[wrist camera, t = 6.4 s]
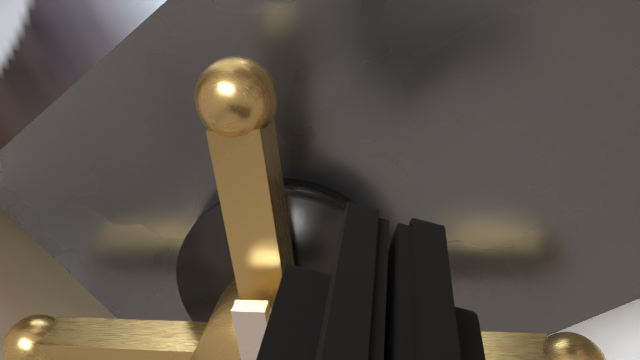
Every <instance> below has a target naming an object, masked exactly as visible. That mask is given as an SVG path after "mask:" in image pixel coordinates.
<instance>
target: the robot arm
mask: <svg viewBox="0 0 640 360" xmlns="http://www.w3.org/2000/svg"><path fill="white" fill-rule="evenodd" d="M388 243H389V220H386V219H382V218H379V209H376V208H372V207H369V206H365V205H361V204H357V203H353V202H349V201H348V203H347V206H346V210H345V213H344V217H343V220H342V224H341V227H340V231H339V235H338V238H337V242H336V246H335V249H334V253H333V256H332V260H331V264H330V267H329V271H328V274H327V273H323V272H319V271H315V270H311V269H307V268H303V267H299V266H295V265H292V264H288V263H287V264H286V266H285V269H284V272H283V275H282V278H281V282H280V285H279V288H278V291H277V294H276V298H275V301H274V304H273V307H272V310H271V314H270V317H269V320H268V323H267V326H266V330H265V333H264V336H263V339H262V343H261V346H260V349H259V352H258V355H257V359H256V360H486V359H485V353H484V347H483V342H482V336H481V330H480V324H479V319H478V316H477V314H476V313H475V312H474V311H471V310H467V309H463V308H459V307H455V305H454V297H453V289H452V280H451V272H450V264H449V256H448V248H447V239H446V231H445V226H443V225H439V224H435V223H431V222H427V221H423V220H420V219H416V218H412V219H411V220H410V222H409V225H405V224H402V223H398V224H397V226H396V229H395V232H394V235H393V238H392V241H391V244H390V247H389V250H388Z"/></svg>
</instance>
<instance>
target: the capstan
mask: <svg viewBox="0 0 640 360" xmlns="http://www.w3.org/2000/svg"><path fill="white" fill-rule="evenodd" d="M194 101H195V107H196V110H197V113H198V115H199V117H200V119H201V120H202V122H203V123H204V124H205V126H206V127H207V128H208V129H207V130H206V135H207V140H208V145H209V150H210V155H211V160H212V165H213V170H214V175H215V180H216V185H217V190H218V195H219V196H218V197H216V198H215V199H214V200H213V201H212V202H211V203H210V204H209V205H208V206H207V207H206V208H205V209H204V210H203V212H202V213H201V214H200V216H199V217H198V219H197V220H196V222H195V223H194V225H193V226H192V228H191V229H190V231H189V232H188V234H187V235H186V237H185V239H184V241H183V243H182V245H181V248H180V251H179V254H178V258H177V266H176V280H177V286H178V291H179V294H180V297H181V300H182V303H183V305H184V307H185V309H186V311H187V313H188V315H189V316H190V318H191V319H192V321H164V320H135V319H106V318H77V317H57V318H54V317H52V316H48V315H32V316H29V317H26V318H24V319H22V320H20V321H19V322H17V323H16V324H15V325H14V326H13V327H12V328H11V329H10V330H9V332H8V334H7V335H6V338H5V340H4V344H3V354H4V358H5V360H256V359H257V355H258V352H259V349H260V346H261V343H262V339H263V336H264V333H265V330H266V326H267V323H268V320H269V317H270V314H271V310H272V307H273V304H274V301H275V298H276V294H277V291H278V288H279V285H280V282H281V278H282V275H283V272H284V269H285V266H286V264H287V263H288V264H292V265H295V266H299V267H303V268H307V269H311V270H315V271H319V272H323V273H327V274H328V271H329V267H330V264H331V260H332V256H333V253H334V249H335V246H336V242H337V238H338V235H339V231H340V227H341V224H342V220H343V217H344V213H345V210H346V206H347V203H348V201H349V202H353V203H356V202H354V201H353V200H352V199H350V198H348V197H347V196H345V195H343V194H341V193H339V192H338V191H336V190H333V189H331V188H328V187H326V186H323V185H320V184H317V183H313V182H310V181H306V180H299V179H293V178H282V171H281V164H280V157H279V150H278V143H277V136H276V129H275V122H274V115H275V112H276V110H277V105H278V92H277V88H276V85H275V82H274V80H273V78H272V76H271V75H270V73H269V72H268V71H267V70H266V69H265V68H264V67H263V66H262V65H261V64H259V63H258V62H256V61H254V60H252V59H250V58H246V57H242V56H229V57H225V58H221V59H219V60H216V61H215V62H213V63H212V64H210V65H209V66H208V67H207V68H206V69H205V70H204V71H203V72H202V74H201V75H200V77H199V79H198V81H197V84H196V87H195V93H194ZM390 244H391V242H390V240H389V243H388V250H389V247H390ZM481 336H482V342H483V347H484V353H485V359H486V360H606V358H605V356H604V354H603V353H602V351H601V350H600V349H599V347H598V346H597V345H596V344H594V343H593V342H592V341H591V340H589V339H588V338H586V337H584V336H582V335H579V334H576V333H570V332H561V333H556V334H553V335H550V336H548V337H547V335H546V334H544V333H515V332H486V331H481Z"/></svg>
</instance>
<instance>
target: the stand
mask: <svg viewBox="0 0 640 360" xmlns="http://www.w3.org/2000/svg"><path fill="white" fill-rule="evenodd" d="M229 56H242V57H246V58H250V59H252V60H254V61H256V62H258V63H259V64H261V65H262V66H263V67H264V68H265V69H266V70H267V71H268V72H269V73H270V75H271V76H272V78H273V80H274V82H275V85H276V88H277V92H278V105H277V110H276V112H275V115H274V122H275V129H276V136H277V143H278V150H279V157H280V164H281V171H282V178H293V179H299V180H306V181H310V182H313V183H317V184H320V185H323V186H326V187H328V188H331V189H333V190H336V191H338V192H339V193H341V194H343V195H345V196H347V197H348V198H350V199H352V200H353V201H354V202H356V203H357V204H361V205H365V206H369V207H372V208H376V209H379V218H382V219H386V220H389V240H390V242H391V241H392V238H393V235H394V232H395V229H396V226H397V224H398V223H402V224H405V225H409V222H410V220H411V219H412V218H416V219H420V220H423V221H427V222H431V223H435V224H439V225H443V226H445V231H446V239H447V248H448V256H449V264H450V272H451V280H452V289H453V297H454V305H455V307H459V308H463V309H467V310H471V311H474V312H475V313H476V314H477V316H478V319H479V324H480V330H481V331H486V332H515V333H544V334H546V335H550V334H552V333H555V332H557V331H560V330H562V329H565V328H567V327H570V326H572V325H575V324H577V323H579V322H582V321H584V320H587V319H589V318H592V317H594V316H597V315H599V314H602V313H604V312H607V311H609V310H611V309H614V308H616V307H619V306H621V305H624V304H626V303H629V302H631V301H634V300H636V299H639V298H640V0H167V1H166V2H165V3H164V4H163V5H161V6H160V7H159V8H158V9H157V10H156V11H155V12H154V13H153V14H151V15H150V16H149V17H148V18H147V19H146V20H145V21H144V22H143V23H141V24H140V25H139V26H138V27H137V28H136V29H135V30H134V31H133V32H131V33H130V34H129V35H128V36H127V37H126V38H125V39H124V40H123V41H121V42H120V43H119V44H118V45H117V46H116V47H115V48H114V49H113V50H111V51H110V52H109V53H108V54H107V55H106V56H105V57H104V58H103V59H101V60H100V61H99V62H98V63H97V64H96V65H95V66H94V67H93V68H91V69H90V70H89V71H88V72H87V73H86V74H85V75H84V76H83V77H81V78H80V79H79V80H78V81H77V82H76V83H75V84H74V85H73V86H71V87H70V88H69V89H68V90H67V91H66V92H65V93H64V94H63V95H61V96H60V97H59V98H58V99H57V100H56V101H55V102H54V103H53V104H51V105H50V106H49V107H48V108H47V109H46V110H45V111H44V112H43V113H41V114H40V115H39V116H38V117H37V118H36V119H35V120H34V121H32V122H31V123H30V124H29V125H28V126H27V127H26V128H25V129H24V130H22V131H21V132H20V133H19V134H18V135H17V136H16V137H15V138H14V139H12V140H11V141H10V142H9V143H8V144H7V145H6V146H5V147H4V148H2V149H1V150H0V207H1V208H2V209H3V210H4V211H5V212H6V213H7V214H8V215H10V216H11V217H12V218H13V219H14V220H15V221H16V222H17V223H18V224H19V225H20V226H21V227H22V228H23V229H24V230H25V231H26V232H27V233H28V234H29V235H31V236H32V237H33V238H34V239H35V240H36V241H37V242H38V243H39V244H40V245H41V246H42V247H43V248H44V249H45V250H46V251H47V252H48V253H49V254H50V255H52V256H53V257H54V258H55V259H56V260H57V261H58V262H59V263H60V264H61V265H62V266H63V267H64V268H65V269H66V270H67V271H68V272H69V273H70V274H71V275H72V276H74V277H75V278H76V279H77V280H78V281H79V282H80V283H81V284H82V285H83V286H84V287H85V288H86V289H87V290H88V291H89V292H90V293H91V294H92V295H93V296H95V297H96V298H97V299H98V300H99V301H100V302H101V303H102V304H103V305H104V306H105V307H106V308H107V309H108V310H109V311H110V312H111V313H112V314H113V315H114V316H116V317H117V318H118V319H135V320H164V321H192V319H191V318H190V316H189V315H188V313H187V311H186V309H185V307H184V305H183V303H182V300H181V297H180V294H179V291H178V286H177V280H176V266H177V258H178V254H179V251H180V248H181V245H182V243H183V241H184V239H185V237H186V235H187V234H188V232H189V231H190V229H191V228H192V226H193V225H194V223H195V222H196V220H197V219H198V217H199V216H200V214H201V213H202V212H203V210H204V209H205V208H206V207H207V206H208V205H209V204H210V203H211V202H212V201H213V200H214V199H215V198H216V197H218V196H219V195H218V190H217V185H216V180H215V175H214V170H213V165H212V160H211V155H210V150H209V145H208V140H207V135H206V130H207V129H208V128H207V127H206V126H205V124H204V123H203V122H202V120H201V119H200V117H199V115H198V113H197V110H196V107H195V101H194V93H195V87H196V84H197V81H198V79H199V77H200V75H201V74H202V72H203V71H204V70H205V69H206V68H207V67H208V66H209V65H210V64H212V63H213V62H215V61H216V60H219V59H221V58H225V57H229Z"/></svg>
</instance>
